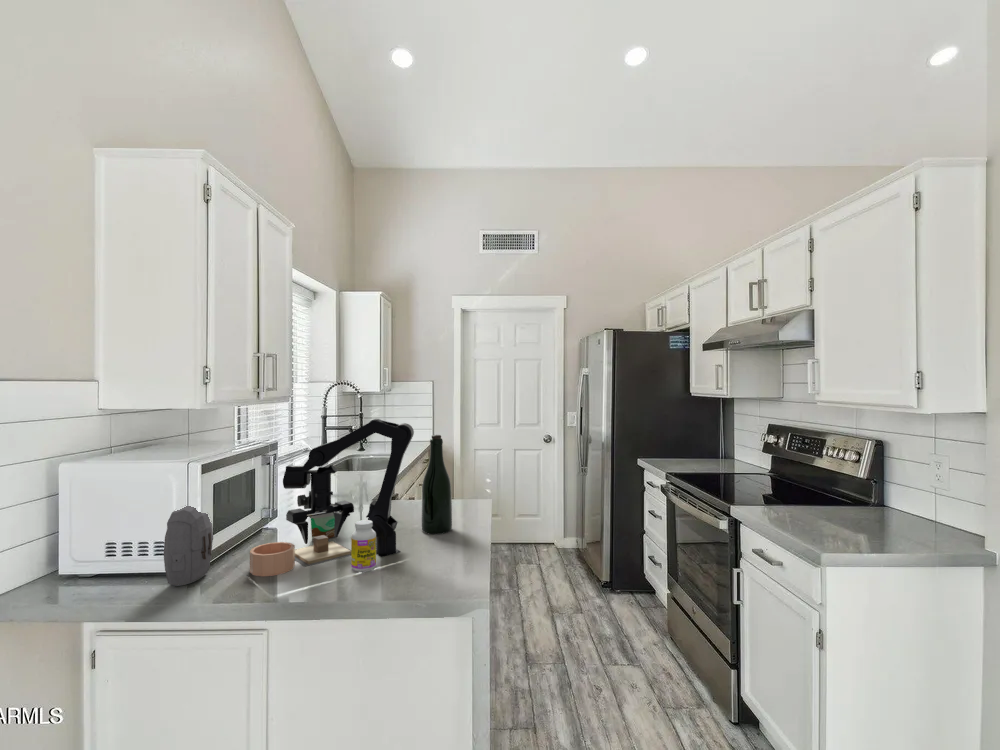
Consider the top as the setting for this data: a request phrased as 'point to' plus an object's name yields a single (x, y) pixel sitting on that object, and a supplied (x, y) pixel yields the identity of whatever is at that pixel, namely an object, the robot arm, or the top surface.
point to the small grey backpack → (187, 546)
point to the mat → (319, 561)
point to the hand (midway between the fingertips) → (321, 540)
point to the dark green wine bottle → (436, 492)
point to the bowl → (272, 559)
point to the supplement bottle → (363, 547)
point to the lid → (321, 550)
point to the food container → (323, 525)
